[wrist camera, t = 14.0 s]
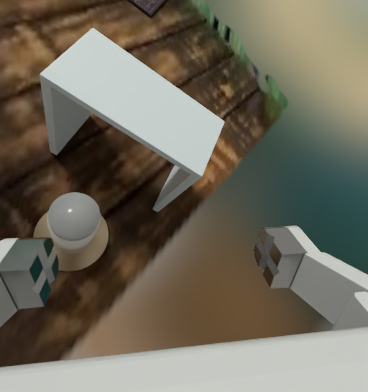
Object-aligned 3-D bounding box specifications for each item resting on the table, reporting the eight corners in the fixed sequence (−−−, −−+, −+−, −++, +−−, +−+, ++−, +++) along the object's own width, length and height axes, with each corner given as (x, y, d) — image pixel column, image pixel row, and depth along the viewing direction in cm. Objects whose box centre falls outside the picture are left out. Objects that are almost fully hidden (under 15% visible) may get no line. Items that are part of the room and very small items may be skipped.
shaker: (55, 258, 30) (49, 246, 20) (49, 221, 31) (41, 193, 21) (95, 249, 32) (106, 234, 23) (89, 215, 33) (97, 187, 24)
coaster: (38, 280, 29) (38, 280, 28) (29, 209, 31) (28, 208, 30) (113, 260, 33) (114, 260, 33) (101, 199, 35) (101, 198, 35)
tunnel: (157, 212, 38) (201, 176, 26) (50, 151, 34) (39, 74, 22) (178, 170, 42) (224, 121, 30) (84, 111, 38) (92, 27, 26)
